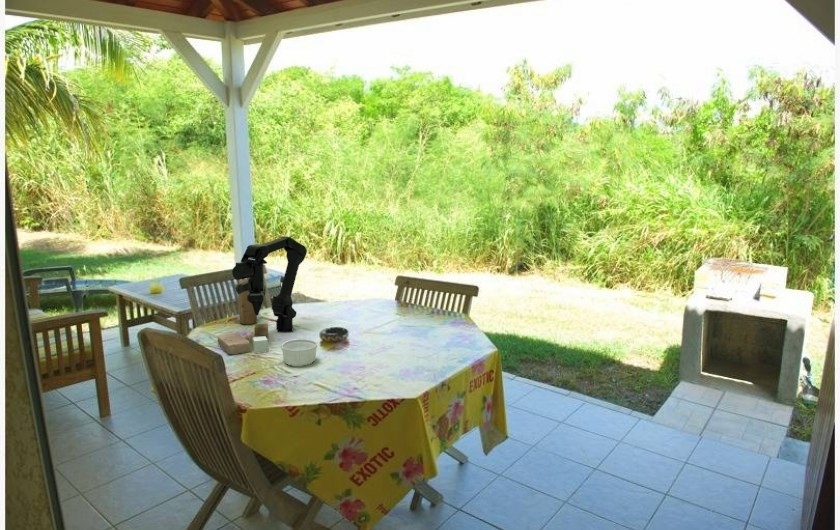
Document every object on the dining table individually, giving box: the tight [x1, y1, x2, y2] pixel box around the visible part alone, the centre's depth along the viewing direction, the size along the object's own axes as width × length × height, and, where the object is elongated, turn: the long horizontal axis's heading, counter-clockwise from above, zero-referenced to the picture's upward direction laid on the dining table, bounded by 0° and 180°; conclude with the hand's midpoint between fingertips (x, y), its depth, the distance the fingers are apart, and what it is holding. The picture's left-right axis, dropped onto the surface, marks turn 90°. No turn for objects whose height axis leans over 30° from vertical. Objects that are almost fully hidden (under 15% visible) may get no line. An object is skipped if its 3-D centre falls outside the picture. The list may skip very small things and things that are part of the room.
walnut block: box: [253, 323, 269, 340], centre depth 237 cm, size 5×5×6 cm
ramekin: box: [280, 338, 318, 367], centre depth 212 cm, size 13×13×7 cm
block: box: [237, 278, 258, 325], centre depth 259 cm, size 11×8×20 cm
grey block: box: [252, 336, 269, 354], centre depth 223 cm, size 5×5×5 cm
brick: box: [217, 331, 251, 355], centre depth 225 cm, size 16×8×5 cm, turn 35°
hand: (257, 312), depth 234 cm, fingers open, 9 cm apart
